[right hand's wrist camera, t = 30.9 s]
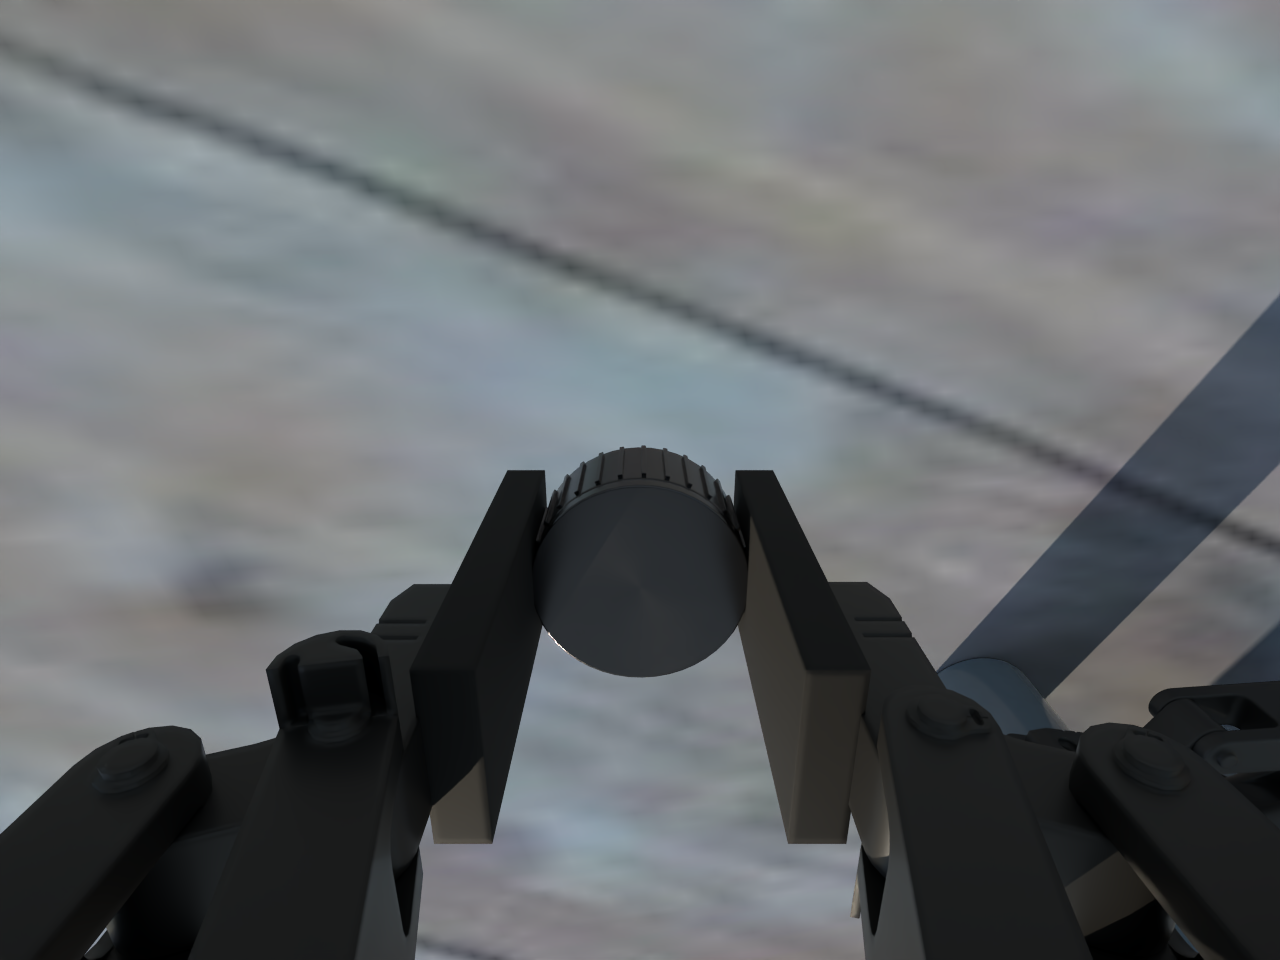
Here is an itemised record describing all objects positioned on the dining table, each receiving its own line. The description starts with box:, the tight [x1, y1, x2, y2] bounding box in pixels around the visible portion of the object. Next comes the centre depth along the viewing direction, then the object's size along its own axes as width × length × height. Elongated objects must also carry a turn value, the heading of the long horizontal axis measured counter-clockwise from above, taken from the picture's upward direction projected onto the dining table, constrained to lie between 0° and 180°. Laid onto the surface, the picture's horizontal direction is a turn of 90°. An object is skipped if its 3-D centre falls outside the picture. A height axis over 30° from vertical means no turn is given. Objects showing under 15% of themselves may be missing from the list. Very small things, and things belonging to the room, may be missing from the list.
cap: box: [532, 446, 748, 677], centre depth 14 cm, size 4×4×2 cm
